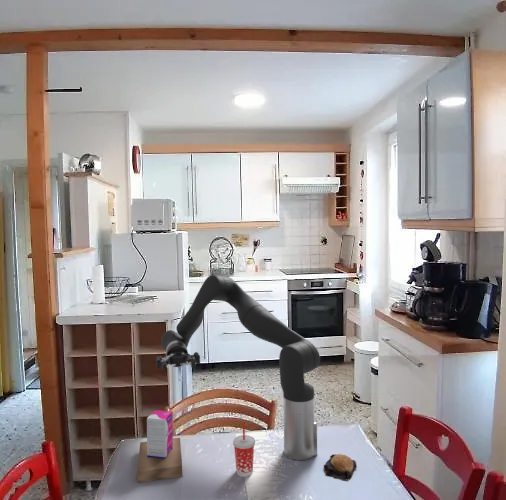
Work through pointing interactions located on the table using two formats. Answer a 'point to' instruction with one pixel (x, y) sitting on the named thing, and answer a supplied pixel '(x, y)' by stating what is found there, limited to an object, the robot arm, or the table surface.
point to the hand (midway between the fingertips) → (179, 366)
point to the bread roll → (340, 467)
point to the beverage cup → (244, 453)
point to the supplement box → (159, 434)
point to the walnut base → (159, 464)
